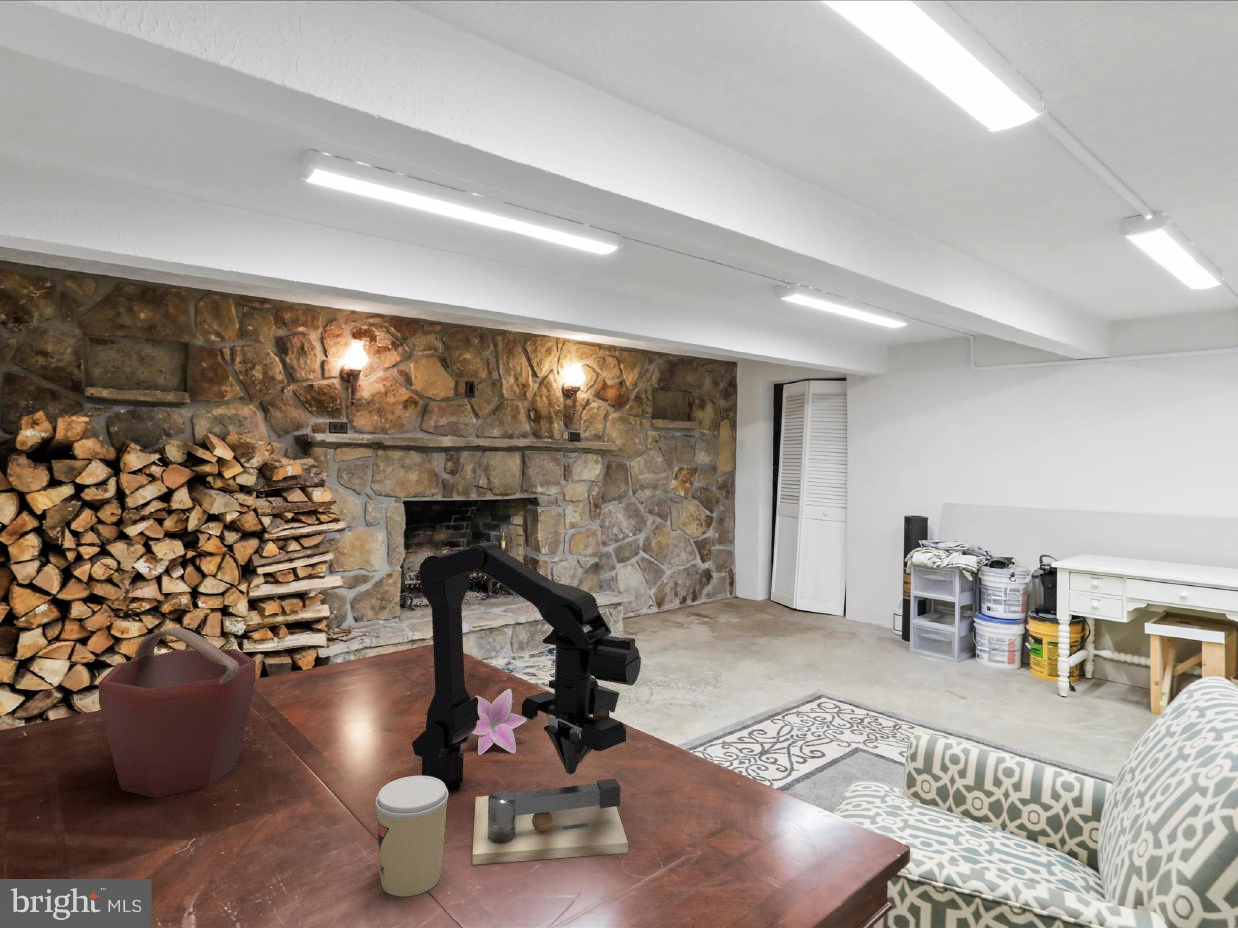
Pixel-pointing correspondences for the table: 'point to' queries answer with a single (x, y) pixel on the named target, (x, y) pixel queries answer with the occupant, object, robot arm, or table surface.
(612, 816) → the board
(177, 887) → the table surface
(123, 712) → the bucket
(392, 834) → the lidded canister
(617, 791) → the lever
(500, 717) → the lily
